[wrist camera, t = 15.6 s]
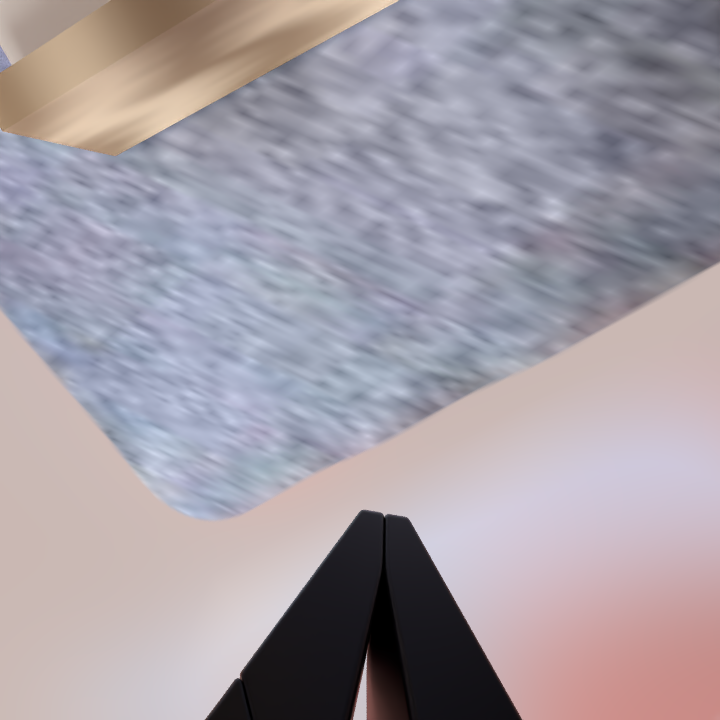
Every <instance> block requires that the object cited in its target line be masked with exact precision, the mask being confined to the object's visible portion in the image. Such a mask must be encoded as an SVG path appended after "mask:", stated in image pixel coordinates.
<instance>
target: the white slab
mask: <svg viewBox="0 0 720 720" xmlns="http://www.w3.org/2000/svg"><path fill="white" fill-rule="evenodd" d="M109 1H111V0H0V45H1V47H2V49H3V50H4V52H5V54H6V56H7V57H8V59H9V61H10V63H11V64H12V65H13V64H15V63H16V62H18V61H19V60H21V59H22V58H24V57H25V56H27V55H28V54H30V53H31V52H33V51H34V50H36V49H38V48H39V47H41V46H42V45H44V44H45V43H47V42H48V41H50V40H51V39H53V38H54V37H56V36H57V35H59V34H60V33H62V32H63V31H65V30H66V29H68V28H69V27H71V26H73V25H74V24H76V23H77V22H79V21H80V20H82V19H83V18H85V17H86V16H88V15H89V14H91V13H92V12H94V11H95V10H97V9H98V8H100V7H101V6H103V5H105V4H106V3H108V2H109Z"/></svg>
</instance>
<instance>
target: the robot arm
mask: <svg viewBox="0 0 720 720" xmlns="http://www.w3.org/2000/svg"><path fill="white" fill-rule="evenodd" d="M366 654H367V720H522V719H521V717H520V715H519V713H518V711H517V710H516V708H515V706H514V704H513V703H512V701H511V699H510V697H509V695H508V694H507V692H506V691H505V688H504V687H503V685H502V683H501V681H500V679H499V678H498V676H497V674H496V672H495V671H494V669H493V667H492V665H491V663H490V662H489V660H488V659H487V656H486V655H485V653H484V651H483V649H482V648H481V646H480V644H479V642H478V640H477V639H476V637H475V635H474V633H473V632H472V630H471V628H470V626H469V625H468V623H467V621H466V619H465V618H464V616H463V614H462V612H461V610H460V609H459V607H458V605H457V604H456V601H455V600H454V598H453V596H452V594H451V593H450V591H449V589H448V587H447V586H446V584H445V582H444V580H443V578H442V577H441V575H440V573H439V571H438V570H437V568H436V566H435V564H434V562H433V561H432V559H431V557H430V555H429V554H428V552H427V550H426V548H425V546H424V545H423V543H422V541H421V539H420V538H419V536H418V534H417V532H416V531H415V529H414V527H413V525H412V523H411V522H410V520H409V519H408V518H407V517H403V516H397V515H391V514H387V515H386V516H385V517H384V515H383V514H382V513H380V512H374V511H369V510H361V511H360V512H359V513H358V515H357V516H356V517H355V519H354V520H353V522H352V523H351V524H350V525H349V527H348V528H347V530H346V531H345V532H344V534H343V535H342V536H341V538H340V539H339V540H338V542H337V543H336V544H335V546H334V547H333V548H332V550H331V551H330V553H329V554H328V555H327V557H326V558H325V559H324V561H323V562H322V563H321V565H320V566H319V567H318V569H317V570H316V572H315V573H314V575H312V577H311V578H310V580H309V581H308V582H307V584H306V585H305V587H304V588H303V589H302V590H301V592H300V593H299V595H298V596H297V597H296V598H295V600H294V601H293V603H292V604H291V605H290V607H289V608H288V609H287V611H286V612H285V613H284V615H283V616H282V618H281V619H280V620H279V621H278V623H277V624H276V625H275V627H274V628H273V630H272V631H271V632H270V634H269V635H268V636H267V638H266V639H265V640H264V642H263V643H262V644H261V646H260V647H259V648H258V650H257V651H256V652H255V654H254V655H253V657H252V658H251V659H250V661H249V662H248V663H247V665H246V666H245V667H244V669H243V670H242V672H241V673H240V679H239V678H237V679H235V680H234V682H233V683H232V684H231V686H230V687H229V689H228V690H227V691H226V693H225V694H224V695H223V697H222V698H221V699H220V701H219V702H218V703H217V705H216V706H215V707H214V709H213V710H212V711H211V713H210V714H209V715H208V716H207V718H206V719H205V720H353V716H354V711H355V707H356V702H357V697H358V692H359V688H360V683H361V679H362V674H363V669H364V663H365V659H366Z"/></svg>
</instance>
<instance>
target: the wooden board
mask: <svg viewBox="0 0 720 720" xmlns="http://www.w3.org/2000/svg"><path fill="white" fill-rule="evenodd" d="M397 1H399V0H111V1H109V2H108V3H106V4H105V5H103V6H101V7H100V8H98V9H97V10H95V11H94V12H92V13H91V14H89V15H88V16H86V17H85V18H83V19H82V20H80V21H79V22H77V23H76V24H74V25H73V26H71V27H69V28H68V29H66V30H65V31H63V32H62V33H60V34H59V35H57V36H56V37H54V38H53V39H51V40H50V41H48V42H47V43H45V44H44V45H42V46H41V47H39V48H38V49H36V50H34V51H33V52H31V53H30V54H28V55H27V56H25V57H24V58H22V59H21V60H19V61H18V62H16V63H15V64H13V65H12V66H10V67H9V68H7V69H6V70H4V71H2V72H1V73H0V128H1V130H2V131H4V132H8V133H13V134H17V135H22V136H26V137H31V138H35V139H40V140H44V141H49V142H53V143H58V144H62V145H67V146H72V147H76V148H81V149H85V150H90V151H94V152H99V153H103V154H108V155H112V156H116V155H118V154H120V153H122V152H124V151H126V150H127V149H129V148H131V147H133V146H135V145H137V144H138V143H140V142H142V141H144V140H146V139H147V138H149V137H151V136H153V135H155V134H157V133H158V132H160V131H162V130H164V129H166V128H167V127H169V126H171V125H173V124H175V123H177V122H178V121H180V120H182V119H184V118H186V117H187V116H189V115H191V114H193V113H195V112H197V111H198V110H200V109H202V108H204V107H206V106H208V105H209V104H211V103H213V102H215V101H217V100H218V99H220V98H222V97H224V96H226V95H228V94H229V93H231V92H233V91H235V90H237V89H238V88H240V87H242V86H244V85H246V84H248V83H249V82H251V81H253V80H255V79H257V78H259V77H260V76H262V75H264V74H266V73H268V72H269V71H271V70H273V69H275V68H277V67H279V66H280V65H282V64H284V63H286V62H288V61H289V60H291V59H293V58H295V57H297V56H299V55H300V54H302V53H304V52H306V51H308V50H309V49H311V48H313V47H315V46H317V45H319V44H320V43H322V42H324V41H326V40H328V39H330V38H331V37H333V36H335V35H337V34H339V33H340V32H342V31H344V30H346V29H348V28H350V27H351V26H353V25H355V24H357V23H359V22H360V21H362V20H364V19H366V18H368V17H370V16H371V15H373V14H375V13H377V12H379V11H380V10H382V9H384V8H386V7H388V6H390V5H391V4H393V3H395V2H397Z"/></svg>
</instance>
